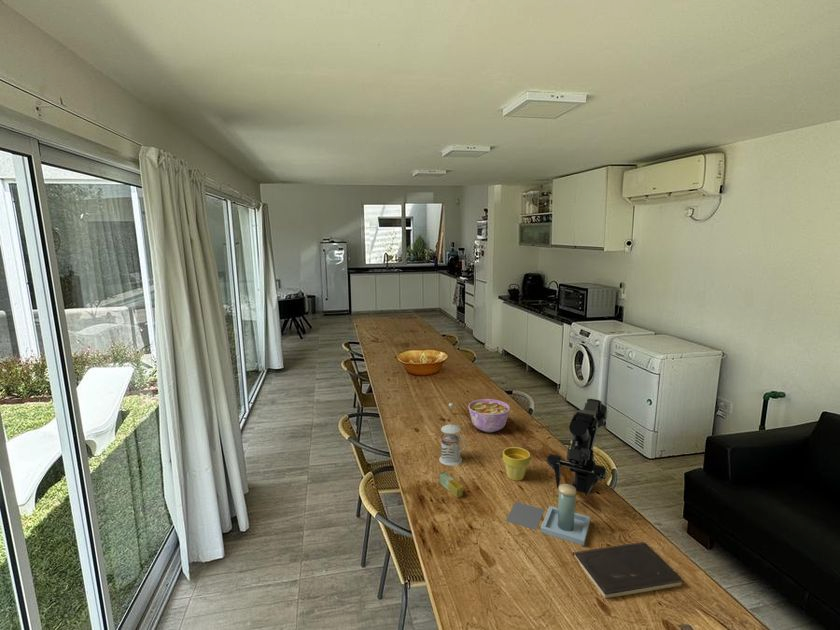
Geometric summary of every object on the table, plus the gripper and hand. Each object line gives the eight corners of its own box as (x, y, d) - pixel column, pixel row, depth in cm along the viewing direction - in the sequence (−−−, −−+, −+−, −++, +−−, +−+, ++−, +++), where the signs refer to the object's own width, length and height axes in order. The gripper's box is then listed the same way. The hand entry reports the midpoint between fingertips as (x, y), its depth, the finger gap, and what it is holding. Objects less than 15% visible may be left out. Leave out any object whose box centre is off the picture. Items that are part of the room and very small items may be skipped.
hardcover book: (682, 588, 117) (683, 580, 117) (604, 601, 113) (605, 593, 113) (642, 547, 132) (643, 540, 132) (572, 557, 128) (572, 550, 128)
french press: (445, 452, 191) (445, 397, 187) (470, 458, 185) (470, 402, 181) (434, 461, 183) (434, 405, 179) (459, 469, 177) (460, 410, 173)
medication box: (439, 483, 168) (439, 473, 167) (445, 480, 169) (444, 471, 168) (457, 498, 157) (457, 488, 157) (463, 496, 159) (463, 486, 158)
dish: (549, 511, 149) (549, 505, 149) (589, 522, 143) (590, 516, 143) (540, 533, 138) (540, 527, 138) (583, 546, 132) (584, 540, 132)
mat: (515, 502, 154) (515, 501, 154) (544, 510, 150) (544, 509, 150) (505, 521, 144) (505, 520, 144) (535, 531, 139) (535, 529, 139)
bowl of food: (465, 435, 207) (465, 412, 205) (470, 418, 226) (470, 397, 224) (508, 440, 202) (509, 416, 200) (510, 422, 221) (510, 400, 219)
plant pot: (529, 471, 175) (530, 448, 173) (528, 485, 165) (529, 461, 163) (503, 467, 178) (504, 445, 176) (501, 481, 168) (501, 457, 166)
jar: (555, 520, 143) (557, 483, 141) (571, 521, 143) (573, 483, 141) (559, 531, 138) (561, 492, 136) (576, 531, 138) (578, 493, 136)
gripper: (549, 432, 151) (539, 476, 144) (607, 444, 142) (600, 492, 135) (554, 443, 160) (544, 486, 152) (609, 456, 150) (602, 502, 143)
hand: (571, 491), depth 145 cm, fingers open, 9 cm apart
